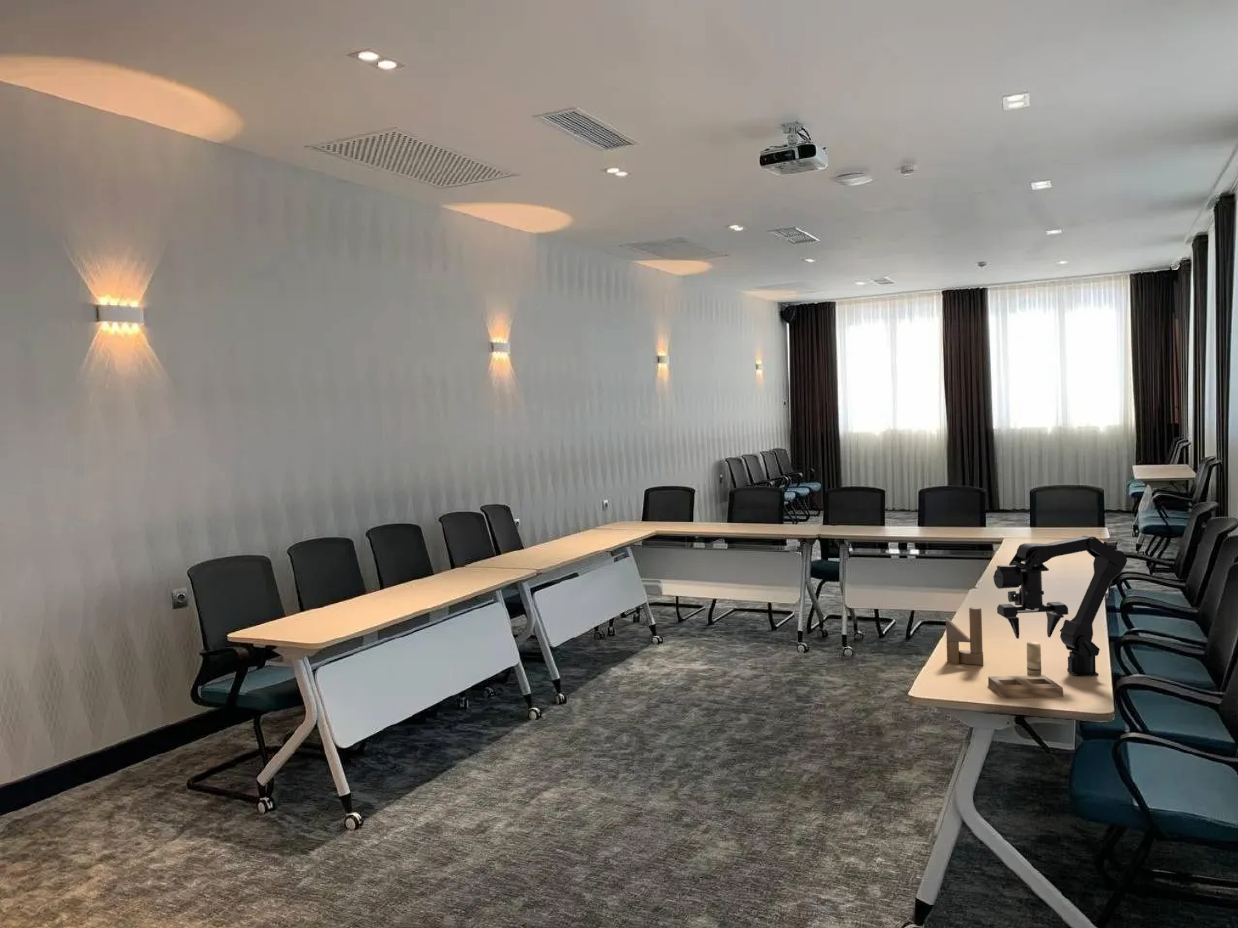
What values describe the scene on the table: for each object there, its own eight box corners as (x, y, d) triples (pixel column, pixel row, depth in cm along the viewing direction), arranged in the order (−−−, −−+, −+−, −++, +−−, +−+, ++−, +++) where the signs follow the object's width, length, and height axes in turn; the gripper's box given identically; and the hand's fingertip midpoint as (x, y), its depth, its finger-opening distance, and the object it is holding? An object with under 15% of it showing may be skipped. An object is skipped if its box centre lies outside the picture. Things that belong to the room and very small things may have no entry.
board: (1044, 683, 253) (1044, 674, 253) (1062, 696, 242) (1062, 687, 241) (988, 684, 254) (988, 676, 254) (1004, 697, 242) (1003, 689, 242)
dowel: (1038, 674, 262) (1037, 641, 262) (1043, 678, 258) (1043, 644, 258) (1025, 674, 263) (1024, 641, 262) (1030, 678, 259) (1029, 645, 258)
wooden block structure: (947, 660, 281) (945, 605, 280) (983, 662, 277) (981, 606, 276) (947, 663, 278) (945, 607, 277) (983, 665, 274) (982, 609, 273)
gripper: (1051, 579, 267) (1053, 629, 267) (989, 582, 268) (991, 632, 269) (1068, 586, 256) (1070, 639, 256) (1003, 589, 257) (1005, 641, 257)
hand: (1033, 637), depth 260 cm, fingers open, 9 cm apart
